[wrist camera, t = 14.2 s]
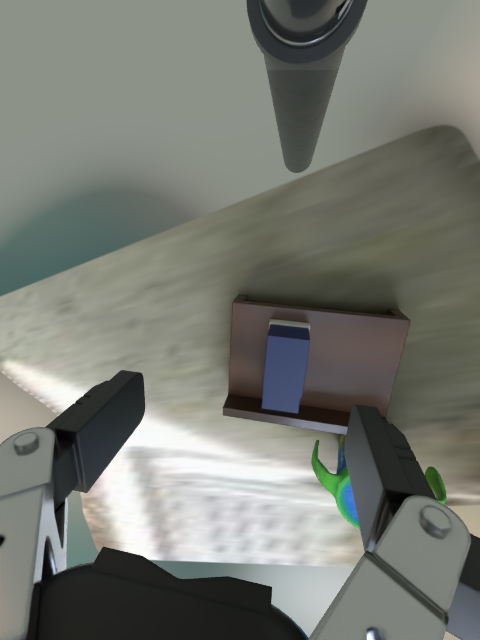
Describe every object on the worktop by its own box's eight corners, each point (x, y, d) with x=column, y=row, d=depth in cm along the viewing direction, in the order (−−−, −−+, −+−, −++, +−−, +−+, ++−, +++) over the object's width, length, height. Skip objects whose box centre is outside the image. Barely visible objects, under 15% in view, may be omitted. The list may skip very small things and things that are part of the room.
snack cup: (301, 450, 45) (302, 511, 36) (324, 394, 42) (332, 446, 32) (403, 483, 44) (432, 556, 35) (436, 428, 40) (479, 493, 31)
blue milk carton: (270, 318, 35) (266, 333, 31) (309, 322, 35) (311, 338, 30) (262, 397, 39) (258, 420, 34) (298, 402, 38) (298, 427, 34)
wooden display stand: (238, 294, 39) (227, 309, 33) (398, 309, 36) (421, 329, 30) (233, 386, 44) (222, 415, 37) (375, 406, 41) (390, 442, 34)
